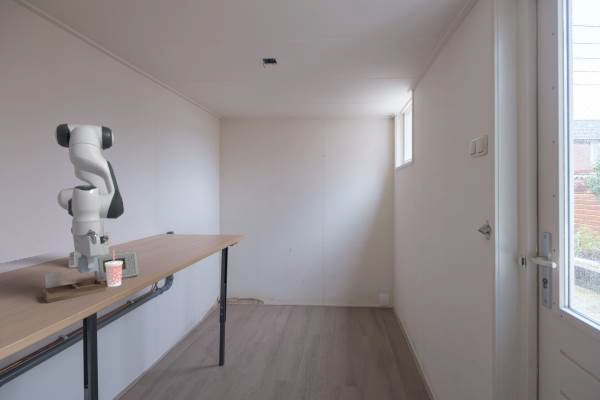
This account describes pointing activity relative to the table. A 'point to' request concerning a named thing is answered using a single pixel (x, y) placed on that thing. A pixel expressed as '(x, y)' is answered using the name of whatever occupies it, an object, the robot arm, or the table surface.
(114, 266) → the beverage cup
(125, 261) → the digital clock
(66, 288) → the organiser base
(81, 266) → the blue cube
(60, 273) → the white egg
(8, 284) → the table surface
